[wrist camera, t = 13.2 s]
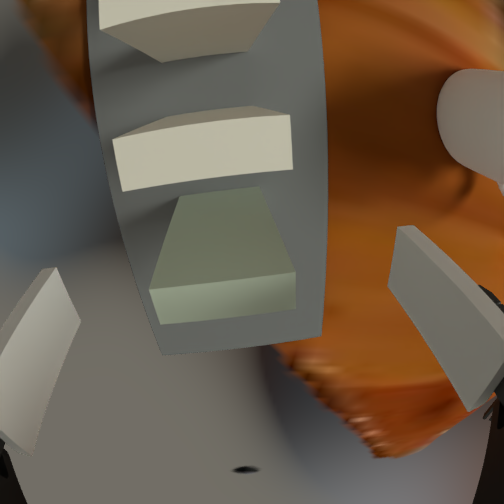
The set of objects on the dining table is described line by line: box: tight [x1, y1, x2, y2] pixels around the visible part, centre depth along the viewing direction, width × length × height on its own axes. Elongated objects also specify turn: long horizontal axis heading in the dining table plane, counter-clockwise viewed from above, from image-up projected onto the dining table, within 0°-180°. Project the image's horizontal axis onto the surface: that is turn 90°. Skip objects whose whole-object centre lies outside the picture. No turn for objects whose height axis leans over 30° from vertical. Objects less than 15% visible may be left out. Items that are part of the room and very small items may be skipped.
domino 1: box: [99, 0, 280, 63], centre depth 10 cm, size 2×5×10 cm, turn 95°
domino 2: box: [112, 106, 293, 192], centre depth 12 cm, size 2×5×10 cm, turn 94°
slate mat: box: [87, 0, 328, 355], centre depth 16 cm, size 42×14×1 cm, turn 5°
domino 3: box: [149, 186, 296, 325], centre depth 15 cm, size 2×5×10 cm, turn 95°
